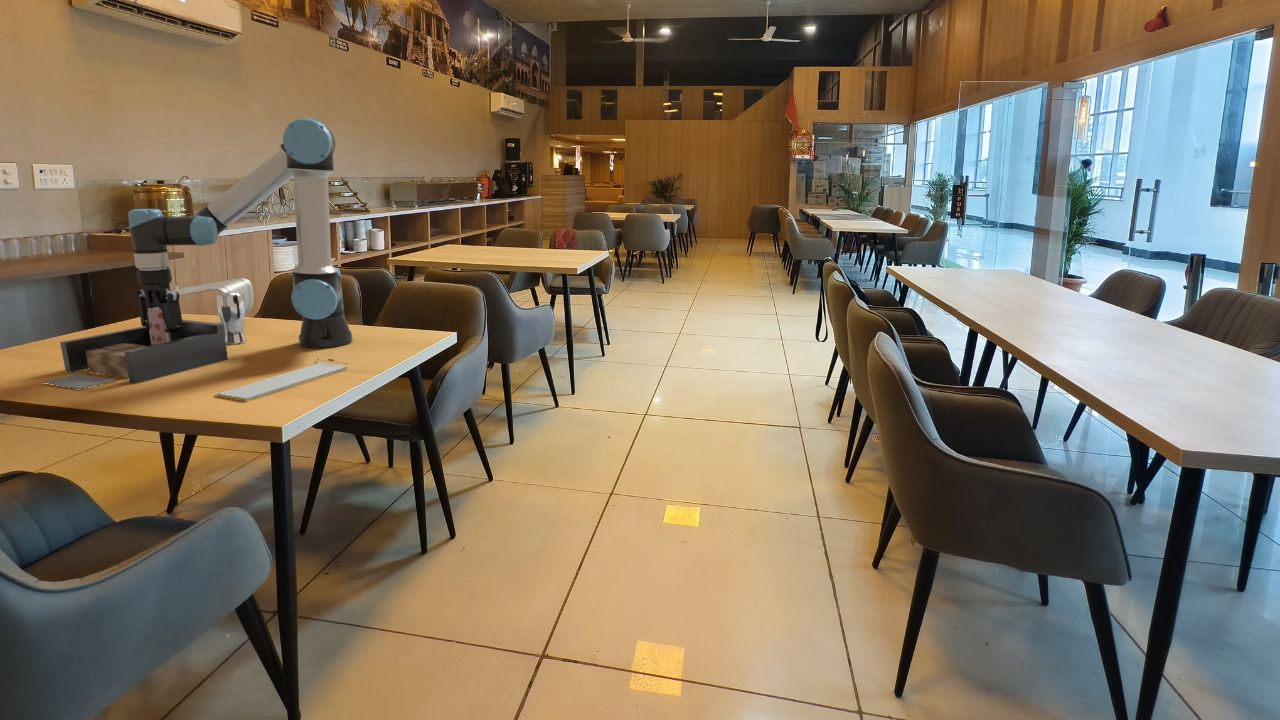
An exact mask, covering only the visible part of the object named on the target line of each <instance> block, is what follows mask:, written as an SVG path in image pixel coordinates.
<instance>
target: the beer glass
mask: <svg viewBox="0 0 1280 720" xmlns="http://www.w3.org/2000/svg"><path fill="white" fill-rule="evenodd" d="M216 303H217V304H216V305H217V313H218V315H219V316H218V317H219V319H220V322H221V323H222V324H223V326H224V334H225V341H226V345H229V344H233V345H240V344H239V343H241V344H245V343H246V342H247V338H246V335H245V331H244V330H245V329H244V326H245V325H244V324H245V316H244V304H243V296H242V294H241V293H240V292H226V293H223V292H220V293H217V294H216ZM244 342H245V343H244Z"/></svg>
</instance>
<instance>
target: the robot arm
mask: <svg viewBox="0 0 1280 720" xmlns="http://www.w3.org/2000/svg"><path fill="white" fill-rule="evenodd" d="M278 147H279V149H278V151H277V152H276V153H275V154H273V155H272V156H270V157H269V158H268V159H267V160H266V161H264V162H263V163H261V164H260V165H259V166H258V167H256V168H255V169H253V170H252V171H251V172H249V173H247V175H245V176H244V177H243V178H242V179H240V180H238V182H236V183H235V184H234V185H232V186H231V187H230V188H228V189H227V190H226V191H224V192H223V193H222V194H220V195H219V196H218V197H216V198H215V199H214V200H213V201H211V202H210V203H208V204H207V205H206V206H204V207H203V208H202V209H200V210H199V211H198V212H196V213H195V214H194V215H193V214H192V215H187V216H164V214H163V212H162V210H161V209H157V208H139V209H138V208H137V209H135V208H134V209H130V210H129V211H128V214H127V215H128V229H129V232H130V234H129V235H130V238H131V239H130V240H131V243H132V245H131V246H132V250H133V257H134V263H135V264H134V265H135V266H134V267H135V268H136V270H137V269H138V270H137V271H136V276H137V282H138V284H140V285H142V289H137V290H135V295H136V298H137V301H138V302H137V303H138V308H139V309H138V310H139V318H140V324H141V327H142V326H146V328H147V329H148V330H149V336H150V340H151V345H153V344H152V337H151V331H150V324H149V318H148V308H156V307H159V308H160V309H161V310H162V314H163V319H164V322H165V324H166V327H167V330H165V333H166V339H167V342H170V341H174V340H179V337H178V330H179V329H181V328H183V322H182V320H183V317H182V311H181V305H180V296H179V293H178V292H175V293H174V292H172V290H171V288H170V285H169V284H170V283H172V281H173V279H172V278H173V277H172V272H171V269H170V268H169V267H170V261H169V255H168V246H201V247H202V246H210V245H215V244H216V243H217V240H218V236H219V235H220V233H222V232H224V231H226V230H225V229H227V228H229V227H230V226H231V225H232V224H234V223H235V222H236V221H238V220H239V219H240V218H242V217H243V216H245V215H246V214H247V213H249V211H251V210H252V209H253V208H255V207H257V205H259V204H260V203H262V202H263V201H264V200H266V198H268V197H269V196H271V195H272V194H274V192H276V191H278V190H279V189H280V188H281V187H283V186H284V185H285V184H287V183H288V182H289V181H291V180H292V179H293V186H294V188H293V189H294V190H293V191H294V206H295V207H294V208H295V210H294V211H295V227H296V231H295V232H296V247H297V251H296V252H297V265H296V266H295V267H294V268H293V269H292V291H291V295H290V300H291V303H292V306H293V308H294V310H295V311H296V313H298V314H299V315H301V316H302V323H301V327H300V334H299V335H298V344H299V346H300V345H301V347H303V346H305V348H310V347H319V348H318V349H320V347H323V349H324V347H325V348H333V347H334V346H335V347H340V346H344V345H348V344H351V343H352V342H353V340H354V339H353V333H352V331H351V330H350V327H349V325H348V322H347V319H346V317H345V308H344V298H343V287H342V279H343V277H342V274H341V271H340V268H338V267H335V266H333V264H332V248H331V247H332V246H331V245H332V243H331V221H330V201H329V200H330V198H329V194H330V193H329V178H330V176H331V175H332V174H334V171H335V170H334V153H335V148H336V141H335V137H334V134H333V132H332V131H331V130H330V129H329V127H328V126H326V125H325V124H324V123H322V122H321V121H320V120H317V119H315V118H309V117H300V118H297V119H295V120H292V121H291V122H290V123H289V124H288V125H287V126H286V128H285V129H284V131H283V135H282V143H281V144H280V145H279V146H278ZM171 326H172V327H171Z"/></svg>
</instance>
